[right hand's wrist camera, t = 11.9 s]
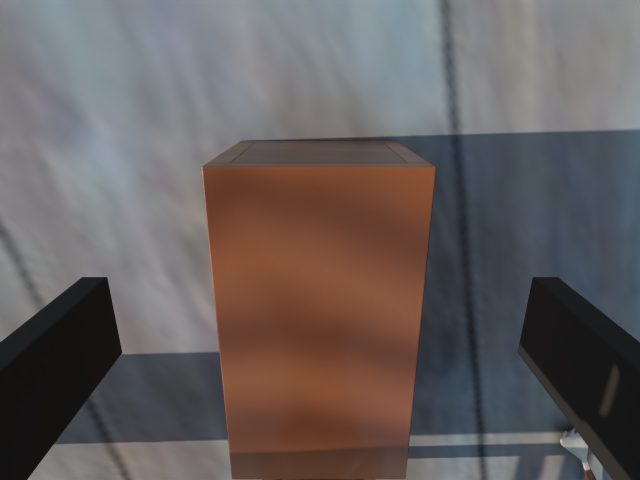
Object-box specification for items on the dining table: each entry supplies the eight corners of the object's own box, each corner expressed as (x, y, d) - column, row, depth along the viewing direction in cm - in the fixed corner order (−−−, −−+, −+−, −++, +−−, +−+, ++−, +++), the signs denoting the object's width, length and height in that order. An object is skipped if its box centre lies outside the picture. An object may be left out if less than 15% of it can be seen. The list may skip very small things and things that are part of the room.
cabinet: (382, 373, 34) (405, 479, 24) (255, 373, 34) (231, 479, 24) (397, 140, 27) (436, 166, 18) (240, 140, 27) (201, 166, 18)
